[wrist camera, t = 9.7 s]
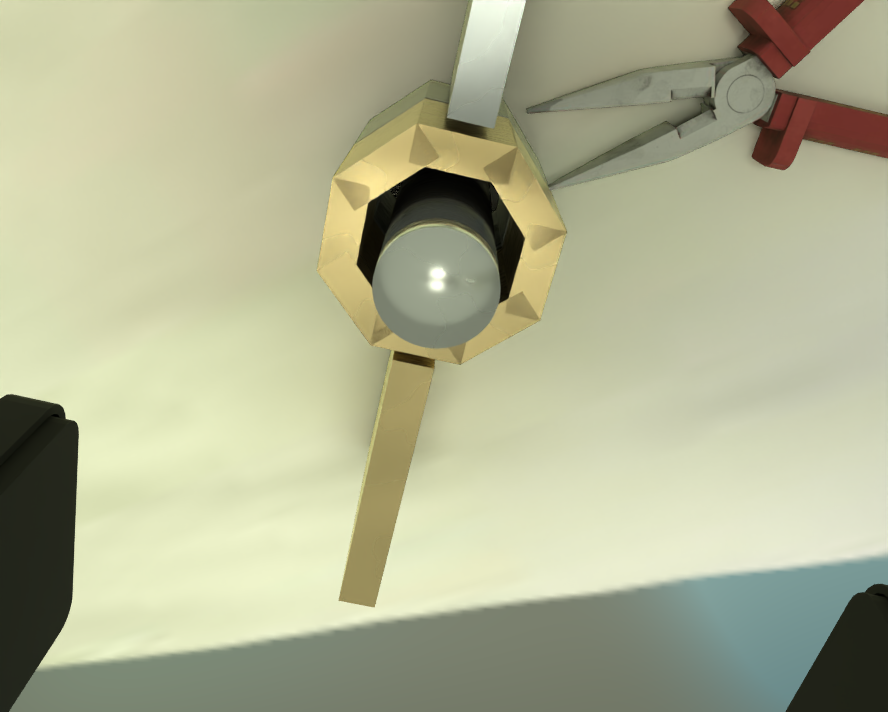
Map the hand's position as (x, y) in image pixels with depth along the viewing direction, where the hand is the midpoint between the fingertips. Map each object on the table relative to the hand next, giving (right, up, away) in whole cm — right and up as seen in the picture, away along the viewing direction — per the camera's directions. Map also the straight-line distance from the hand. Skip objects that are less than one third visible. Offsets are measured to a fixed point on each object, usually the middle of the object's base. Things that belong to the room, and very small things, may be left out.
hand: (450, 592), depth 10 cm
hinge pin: (0, +9, +20) cm, 22 cm away
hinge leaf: (-1, +5, +22) cm, 22 cm away
